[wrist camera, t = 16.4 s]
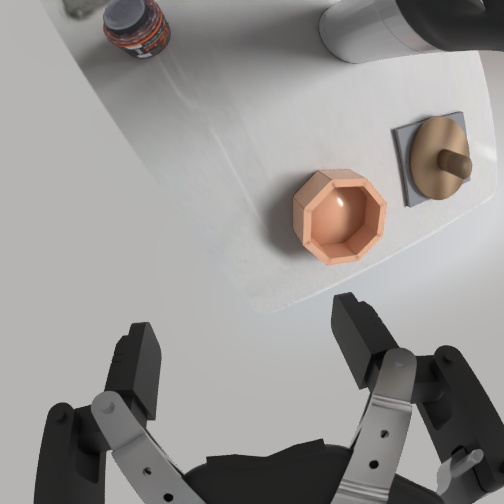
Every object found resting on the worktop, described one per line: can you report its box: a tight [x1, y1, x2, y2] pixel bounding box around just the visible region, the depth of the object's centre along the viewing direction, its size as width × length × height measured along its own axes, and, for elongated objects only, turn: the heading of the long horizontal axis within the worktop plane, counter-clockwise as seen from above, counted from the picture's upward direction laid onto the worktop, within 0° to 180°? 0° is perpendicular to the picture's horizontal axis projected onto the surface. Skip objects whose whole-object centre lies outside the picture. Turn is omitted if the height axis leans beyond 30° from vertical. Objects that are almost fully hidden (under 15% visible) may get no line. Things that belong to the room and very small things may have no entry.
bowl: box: [293, 169, 387, 265], centre depth 38 cm, size 12×12×5 cm
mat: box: [394, 112, 470, 208], centre depth 37 cm, size 16×13×1 cm
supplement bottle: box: [103, 0, 170, 58], centre depth 20 cm, size 6×6×11 cm
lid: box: [409, 116, 472, 200], centre depth 34 cm, size 14×14×6 cm
